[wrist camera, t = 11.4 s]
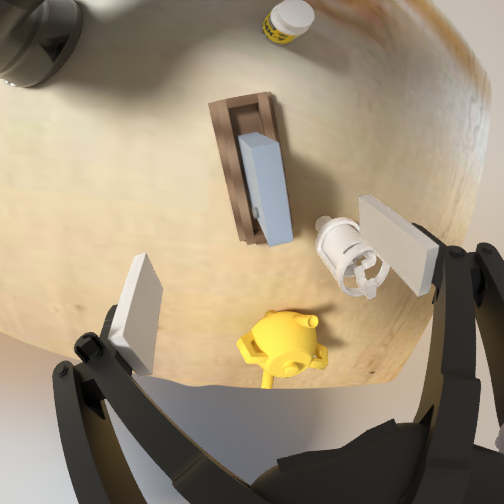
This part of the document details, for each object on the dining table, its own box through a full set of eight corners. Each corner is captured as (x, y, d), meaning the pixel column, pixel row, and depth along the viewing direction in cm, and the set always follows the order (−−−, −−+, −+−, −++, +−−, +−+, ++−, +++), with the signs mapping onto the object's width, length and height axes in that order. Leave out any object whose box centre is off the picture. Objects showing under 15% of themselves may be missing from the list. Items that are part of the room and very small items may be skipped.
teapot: (253, 275, 45) (267, 322, 36) (340, 295, 50) (365, 335, 41) (218, 353, 53) (222, 399, 44) (295, 362, 59) (308, 402, 49)
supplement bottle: (253, 27, 27) (265, 7, 19) (279, 10, 26) (297, -12, 18) (277, 51, 29) (296, 37, 22) (302, 34, 28) (326, 18, 20)
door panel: (233, 136, 33) (244, 149, 23) (256, 131, 33) (278, 142, 23) (247, 206, 38) (264, 247, 28) (269, 202, 38) (293, 241, 28)
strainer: (309, 251, 44) (347, 311, 31) (297, 213, 41) (338, 267, 28) (347, 234, 44) (396, 287, 31) (338, 196, 40) (393, 241, 28)
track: (208, 103, 31) (208, 103, 29) (269, 92, 32) (274, 90, 29) (239, 238, 41) (241, 248, 39) (290, 226, 42) (296, 234, 39)
